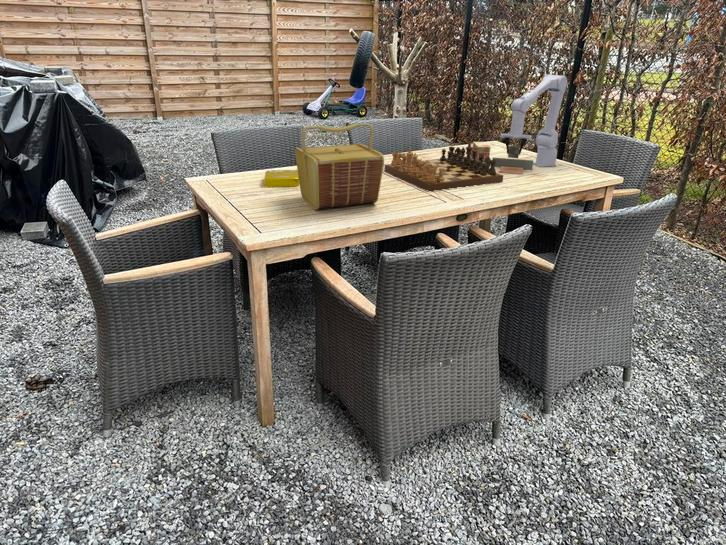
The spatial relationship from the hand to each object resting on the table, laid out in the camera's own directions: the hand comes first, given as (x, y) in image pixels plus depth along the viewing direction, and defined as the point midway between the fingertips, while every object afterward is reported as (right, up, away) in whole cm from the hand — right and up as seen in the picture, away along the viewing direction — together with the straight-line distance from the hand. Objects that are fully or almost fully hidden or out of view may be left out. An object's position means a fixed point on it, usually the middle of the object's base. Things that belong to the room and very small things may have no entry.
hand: (513, 153), depth 252 cm
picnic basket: (-84, -30, -47) cm, 101 cm away
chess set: (-37, -13, -8) cm, 40 cm away
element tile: (-110, -19, -22) cm, 114 cm away
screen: (+2, -5, +9) cm, 11 cm away
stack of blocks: (-15, -4, +12) cm, 20 cm away
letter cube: (0, -1, +1) cm, 2 cm away
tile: (0, -8, +3) cm, 9 cm away
